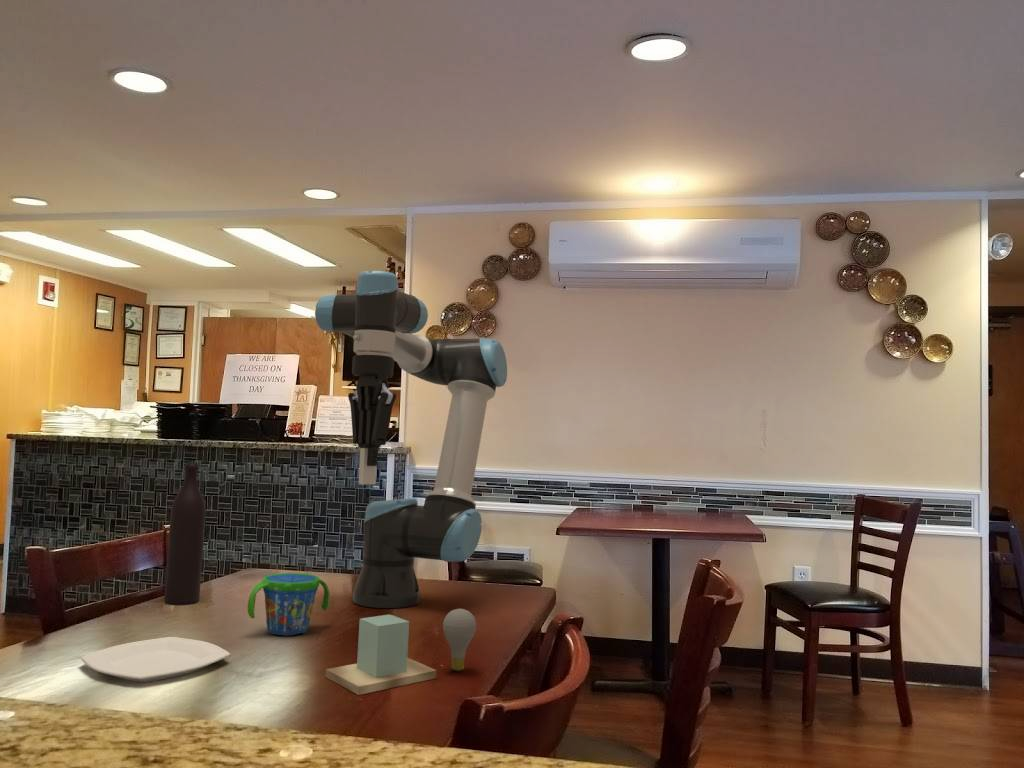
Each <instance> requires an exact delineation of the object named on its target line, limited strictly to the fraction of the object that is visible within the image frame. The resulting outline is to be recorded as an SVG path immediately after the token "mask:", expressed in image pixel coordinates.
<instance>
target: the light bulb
mask: <svg viewBox="0 0 1024 768" xmlns="http://www.w3.org/2000/svg"><path fill="white" fill-rule="evenodd" d="M442 630H443V631H442V632H443V634H444V637H445V638H446V640H447V642H448V644H449V647H450V651H451V654H450V657H451V666H450V667H451V669H452V670H453V671H455V672H457V673H458V672H461V670H464V669H465V657H466V650H467V648H468V646H469V644H470V643H471V641H472V639H473V638H474V636H475V635H476V634H475V633H476V630H477V621H476V618H475V616H474V615H473V614H472V613H471V611H469V610H466V609H465V608H456V609H452V610H451V611H449V612H447V614H446V616H445V617H444V619H443V623H442Z"/></svg>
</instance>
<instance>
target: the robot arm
mask: <svg viewBox="0 0 1024 768" xmlns="http://www.w3.org/2000/svg"><path fill="white" fill-rule="evenodd" d="M398 279H399V278H398V277H397V275H396V274H395V273H393V272H390V271H384V270H364V271H361V272H360V273H359V274H358V275H357V280H356V287H355V289H356V290H355V293H353V294H350V293H349V294H345V293H344V294H342V293H341V294H338V293H335V294H330V295H323V296H322V297H320V298H319V299H318V300H317V302H316V305H315V311H314V318H315V321H316V324H317V326H318V327H319V329H321V330H322V331H323V332H328V333H329V332H330V333H338V332H339V333H343V334H344V335H348V336H349V337H351V338H353V339H352V340H353V353H354V354H355V355H353V357H352V364H351V365H352V367H351V374H352V375H353V376H355V377H357V383H356V385H355V388H356V390H355V391H354V392H348V394H347V397H348V401H349V405H350V416H351V417H350V418H351V431H352V442H353V444H356V445H357V446H358V448H359V466H358V467H359V468H358V469H359V470H358V485H376V484H377V466H378V456H379V455H378V453H379V449H380V448H381V446H385V445H386V444H387V441H388V440H387V439H388V434H389V428H390V422H391V417H392V413H393V406H394V404H395V402H396V400H397V399H396V398H397V393H395V392H391V391H390V390H389V386H390V385H389V382H388V379H389V378H392V377H393V376H394V373H395V372H394V370H395V369H394V367H395V362H396V363H397V364H398V366H399V368H400V369H401V370H403V371H404V372H405V373H408V374H409V375H411V376H414V377H416V378H418V379H420V380H423V381H425V382H428V383H430V384H431V383H432V384H435V385H438V386H439V385H440V386H447V390H448V391H449V392H450V394H451V400H450V405H449V410H448V415H447V421H446V426H445V431H444V437H443V441H442V447H441V451H440V457H439V461H438V467H437V472H436V476H435V477H436V478H435V481H434V486H433V487H434V488H433V489H432V491H431V492H429V493H427V494H426V495H425V497H424V498H425V499H424V504H423V505H419V502H418V500H417V499H416V498H400V499H389V500H387V499H386V500H378V501H372V502H369V504H367V506H366V509H365V516H364V521H363V523H364V527H363V546H362V547H363V550H362V564H361V565H362V567H361V570H360V573H359V575H358V578H357V579H356V584H355V586H354V589H353V592H352V602H353V603H354V604H356V605H358V606H359V605H360V606H362V607H367V608H378V609H398V608H406V607H411V606H415V605H417V604H419V603H420V598H421V592H420V588H419V584H418V579H417V576H416V571H415V567H414V566H415V564H414V563H415V559H424V560H425V559H426V560H434V561H435V560H437V561H443V562H445V563H447V562H448V563H449V562H465V561H466V560H468V559H469V558H470V557H471V556H472V555H473V554H474V552H475V551H476V549H477V548H478V545H479V542H480V538H481V536H482V535H481V534H482V528H483V527H482V522H483V521H482V515H481V513H480V512H479V510H477V509H476V506H477V504H476V502H475V501H474V499H473V497H472V491H473V484H474V480H475V474H476V473H475V472H476V469H477V463H478V456H479V450H480V445H481V440H482V439H481V438H482V433H483V428H484V422H485V416H486V410H487V406H488V405H487V404H488V401H490V400H491V399H493V398H494V397H495V396H496V390H497V389H496V388H500V387H503V386H504V385H506V383H507V377H508V363H507V357H506V353H505V350H504V348H503V345H502V344H501V342H499V340H497V339H495V338H483V337H480V338H429V337H426V336H425V335H422V334H416V333H418V332H420V331H421V330H423V329H424V327H425V326H426V325H427V322H428V317H429V314H428V313H429V311H428V308H427V306H426V304H425V303H424V302H423V300H421V299H419V298H417V297H416V296H415V295H413V294H409V293H406V292H403V291H400V290H399V288H400V287H399V280H398Z"/></svg>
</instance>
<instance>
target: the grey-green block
mask: <svg viewBox="0 0 1024 768" xmlns="http://www.w3.org/2000/svg"><path fill="white" fill-rule="evenodd" d="M358 623H359V625H358V641H357V642H358V643H357V656H356V657H357V658H356V659H357V661H356V664H357V669H359V670H361V671H363V672H365V673H367V674H369V675H371V676H373V677H375V678H378V677H383V676H387V675H392V674H397V673H402V672H407V658H408V655H409V654H408V650H409V632H410V631H409V629H410V621H409V620H406V619H404V618H400V617H398V616H396V615H392V614H383V615H377V616H375V615H374V616H370V617H362V618H359V621H358Z"/></svg>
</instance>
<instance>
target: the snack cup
mask: <svg viewBox="0 0 1024 768" xmlns="http://www.w3.org/2000/svg"><path fill="white" fill-rule="evenodd" d="M320 585H321V586H322V587H323V590H324V591H323V598H322V602H321V608H322V610H323V611H328V609H329V607H330V599H331V597H330V589H329V586H328V584H327V583H326V581H324V580H322V579H320V576H317V575H314V574H309V573H308V574H307V573H290V572H289V573H275V574H274V573H273V574H268V575H265V576H264V577H262V580H261V581H260V582H258V583H257V584H255V586H254V587H253V589H251V592H250V595H249V598H248V601H247V614H248V616H249V618H251V619H254V618H255V604H256V597H257V593H259V591H260V590H261V589H263V593H264V603H265V604H264V607H265V608H264V609H265V614H266V615H265V617H266V619H265V620H266V622H265V623H266V630H267V632H268V634H272V635H275V636H276V635H277V636H285V637H286V636H296V635H298V634H305V633H307V630H308V629H309V627H310V623H311V619H312V616H313V615H312V614H313V609H314V603H315V599H316V594H317V591H318V589H319V586H320Z"/></svg>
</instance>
